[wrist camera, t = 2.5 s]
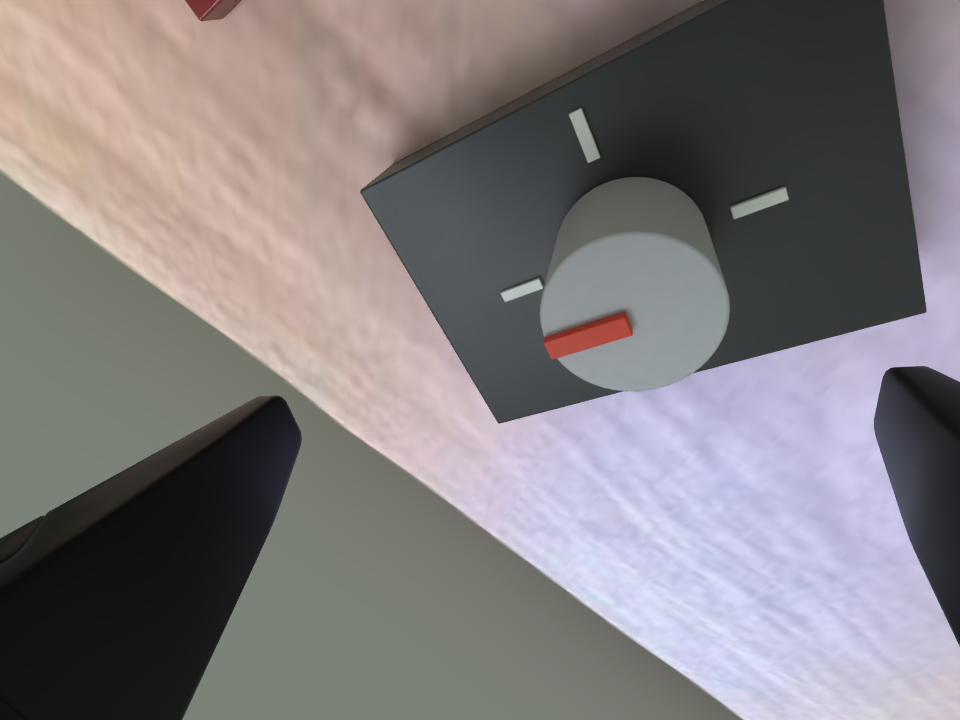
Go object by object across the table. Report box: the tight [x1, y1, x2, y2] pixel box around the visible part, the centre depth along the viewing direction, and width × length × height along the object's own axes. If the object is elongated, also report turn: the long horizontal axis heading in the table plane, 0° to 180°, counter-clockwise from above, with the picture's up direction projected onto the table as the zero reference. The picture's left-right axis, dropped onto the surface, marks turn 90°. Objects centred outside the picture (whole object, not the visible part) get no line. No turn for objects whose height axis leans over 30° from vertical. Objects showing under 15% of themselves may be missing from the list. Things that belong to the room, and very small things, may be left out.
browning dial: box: [540, 177, 730, 391], centre depth 15 cm, size 4×4×4 cm
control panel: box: [360, 0, 926, 423], centre depth 18 cm, size 14×10×3 cm
